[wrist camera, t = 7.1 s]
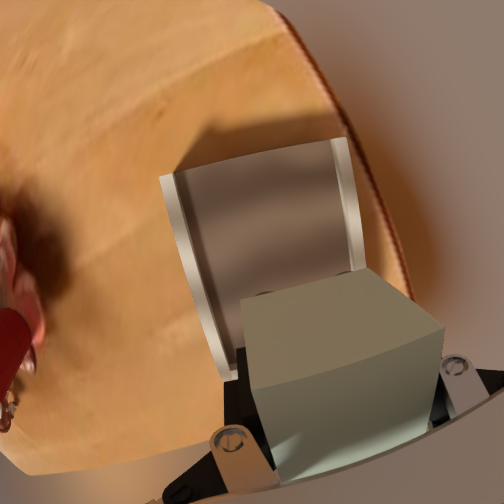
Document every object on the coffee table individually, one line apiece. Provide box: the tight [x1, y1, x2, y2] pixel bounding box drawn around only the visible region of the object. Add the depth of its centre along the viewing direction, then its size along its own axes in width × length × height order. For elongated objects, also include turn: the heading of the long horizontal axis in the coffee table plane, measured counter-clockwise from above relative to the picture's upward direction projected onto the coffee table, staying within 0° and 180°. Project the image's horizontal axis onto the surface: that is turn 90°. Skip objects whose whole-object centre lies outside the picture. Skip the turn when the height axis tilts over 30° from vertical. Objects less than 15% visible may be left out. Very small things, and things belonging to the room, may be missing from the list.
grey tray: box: [159, 137, 366, 381], centre depth 26 cm, size 18×14×5 cm
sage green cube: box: [240, 267, 445, 482], centre depth 10 cm, size 7×5×6 cm
